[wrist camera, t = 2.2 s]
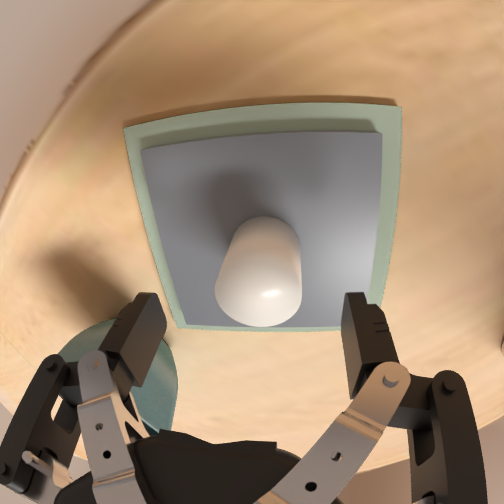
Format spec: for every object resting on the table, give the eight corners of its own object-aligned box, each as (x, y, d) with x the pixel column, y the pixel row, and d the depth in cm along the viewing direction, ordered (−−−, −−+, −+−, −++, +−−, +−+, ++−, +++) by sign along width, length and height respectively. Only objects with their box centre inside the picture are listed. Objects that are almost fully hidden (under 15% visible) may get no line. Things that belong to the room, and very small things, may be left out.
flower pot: (84, 307, 25) (38, 373, 17) (145, 289, 22) (93, 375, 14) (134, 364, 28) (104, 430, 21) (198, 358, 26) (172, 440, 18)
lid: (376, 131, 13) (416, 150, 9) (359, 315, 20) (371, 374, 15) (147, 146, 15) (95, 172, 11) (189, 315, 22) (168, 369, 17)
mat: (397, 106, 13) (401, 106, 12) (373, 323, 21) (375, 328, 20) (127, 126, 15) (123, 128, 15) (179, 323, 23) (177, 327, 23)
